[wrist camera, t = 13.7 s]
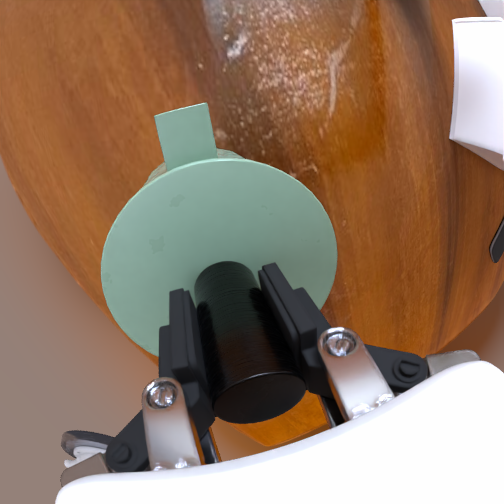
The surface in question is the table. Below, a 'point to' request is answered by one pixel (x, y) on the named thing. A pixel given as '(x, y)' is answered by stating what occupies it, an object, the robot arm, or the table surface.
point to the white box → (479, 87)
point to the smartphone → (498, 244)
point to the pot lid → (222, 273)
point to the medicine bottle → (493, 8)
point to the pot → (186, 138)
